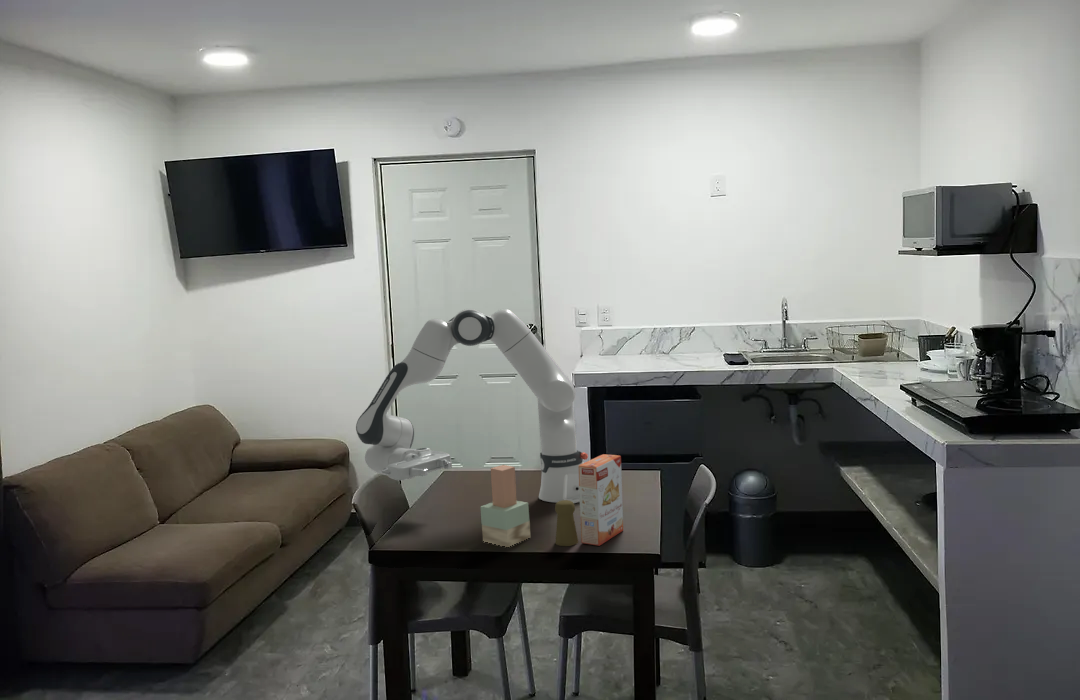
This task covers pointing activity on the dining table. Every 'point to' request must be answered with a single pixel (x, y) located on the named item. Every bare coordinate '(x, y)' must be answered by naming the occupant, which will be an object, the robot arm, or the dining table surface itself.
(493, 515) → the green block
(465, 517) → the dining table surface
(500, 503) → the rust block
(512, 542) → the beech block
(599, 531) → the cracker box
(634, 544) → the dining table surface
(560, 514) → the cork
